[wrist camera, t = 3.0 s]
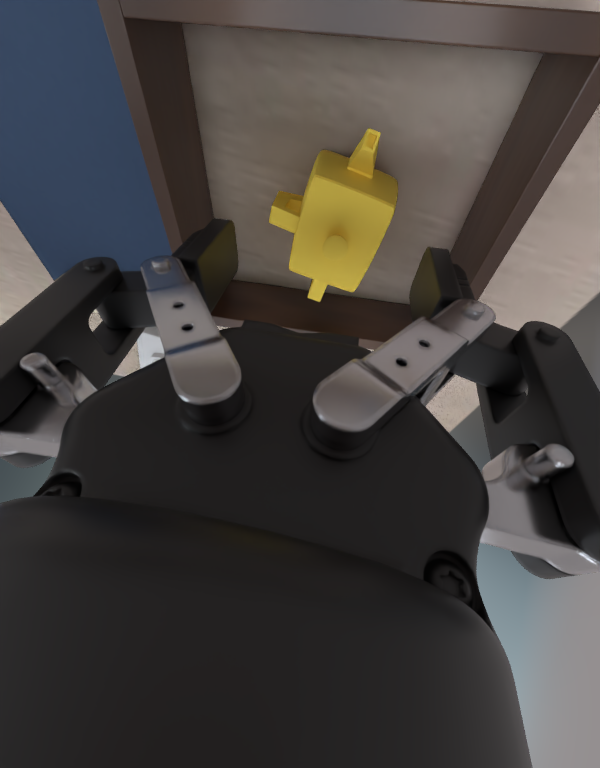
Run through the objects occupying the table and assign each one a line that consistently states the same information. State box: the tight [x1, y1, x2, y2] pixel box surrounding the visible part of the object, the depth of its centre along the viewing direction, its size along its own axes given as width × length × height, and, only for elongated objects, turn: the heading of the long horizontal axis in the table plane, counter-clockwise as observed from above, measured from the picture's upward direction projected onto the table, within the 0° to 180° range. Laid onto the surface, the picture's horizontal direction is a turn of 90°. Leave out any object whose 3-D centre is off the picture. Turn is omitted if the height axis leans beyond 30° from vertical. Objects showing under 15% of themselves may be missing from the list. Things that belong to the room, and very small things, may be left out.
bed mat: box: [0, 0, 172, 313], centre depth 17 cm, size 12×20×2 cm, turn 177°
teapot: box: [269, 128, 398, 302], centre depth 15 cm, size 8×6×5 cm
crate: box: [97, 0, 600, 350], centre depth 15 cm, size 17×14×4 cm
